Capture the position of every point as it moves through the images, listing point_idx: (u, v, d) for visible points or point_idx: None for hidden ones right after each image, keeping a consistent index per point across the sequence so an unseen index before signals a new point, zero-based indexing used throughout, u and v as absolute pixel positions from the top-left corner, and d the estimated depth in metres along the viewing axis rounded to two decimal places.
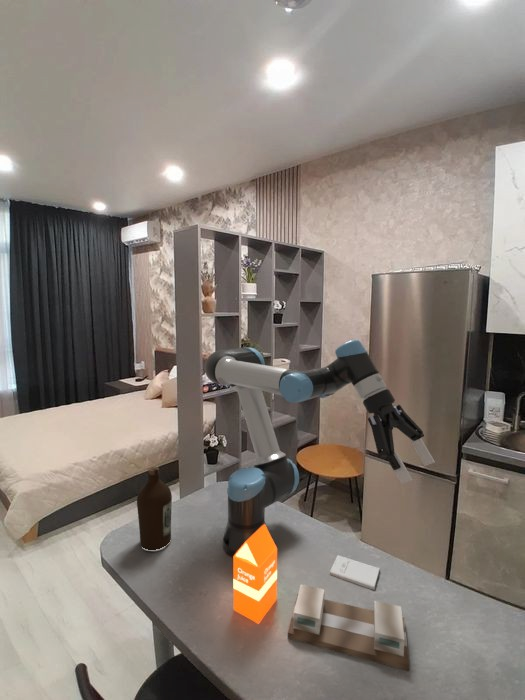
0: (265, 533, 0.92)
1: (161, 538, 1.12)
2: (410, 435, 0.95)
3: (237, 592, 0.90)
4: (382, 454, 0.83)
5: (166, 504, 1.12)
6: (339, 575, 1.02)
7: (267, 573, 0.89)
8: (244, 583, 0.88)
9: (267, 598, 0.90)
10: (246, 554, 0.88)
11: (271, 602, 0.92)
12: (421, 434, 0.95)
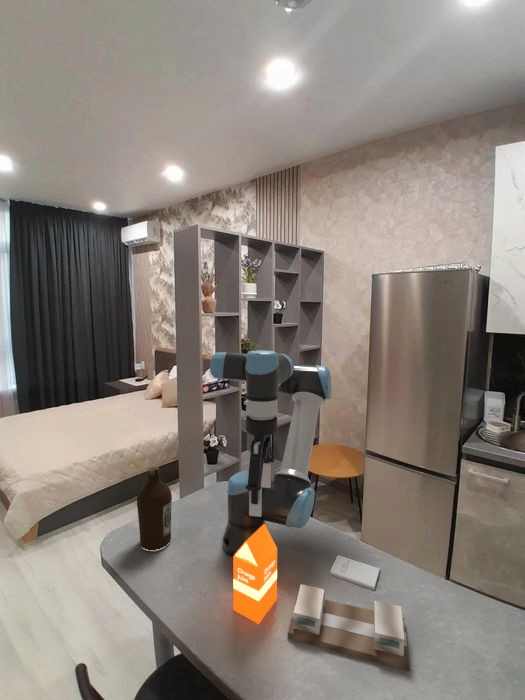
0: (265, 533, 0.92)
1: (161, 538, 1.12)
2: None
3: (237, 592, 0.90)
4: None
5: (166, 504, 1.12)
6: (339, 575, 1.02)
7: (267, 573, 0.89)
8: (244, 583, 0.88)
9: (267, 598, 0.90)
10: (246, 554, 0.88)
11: (271, 602, 0.92)
12: (247, 486, 0.81)
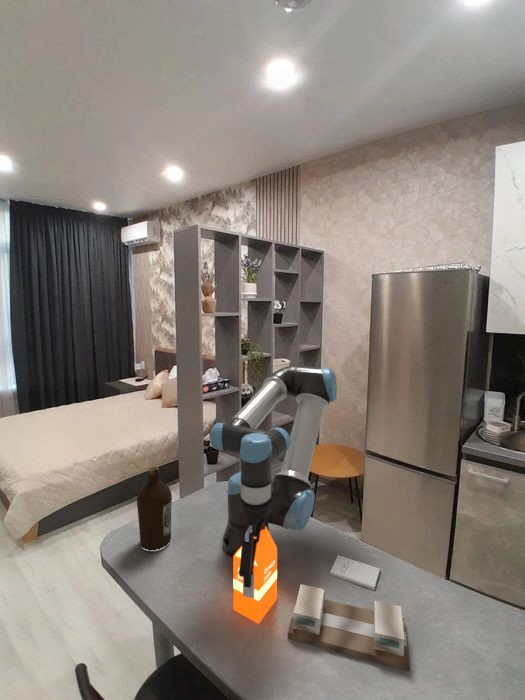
0: (265, 533, 0.92)
1: (161, 538, 1.12)
2: None
3: (237, 592, 0.90)
4: None
5: (166, 504, 1.12)
6: (339, 575, 1.02)
7: (267, 573, 0.89)
8: None
9: (267, 598, 0.90)
10: None
11: (271, 602, 0.92)
12: None
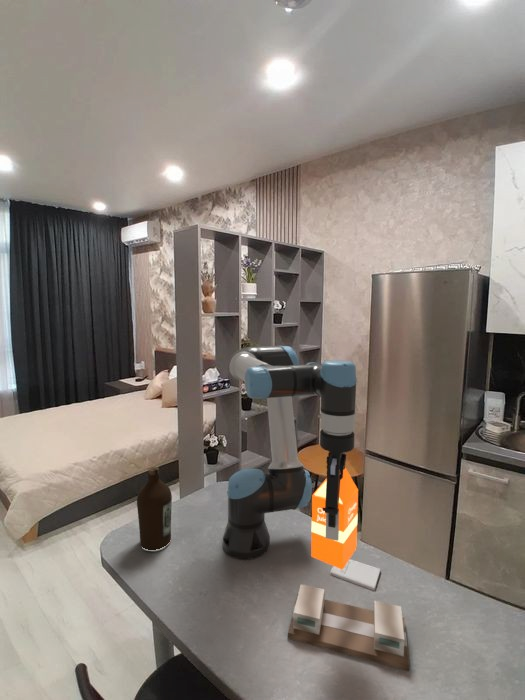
0: (345, 473, 0.84)
1: (161, 538, 1.12)
2: None
3: (316, 536, 0.81)
4: None
5: (166, 504, 1.12)
6: (339, 575, 1.02)
7: (350, 514, 0.80)
8: (325, 524, 0.79)
9: (349, 543, 0.81)
10: None
11: (352, 550, 0.83)
12: None
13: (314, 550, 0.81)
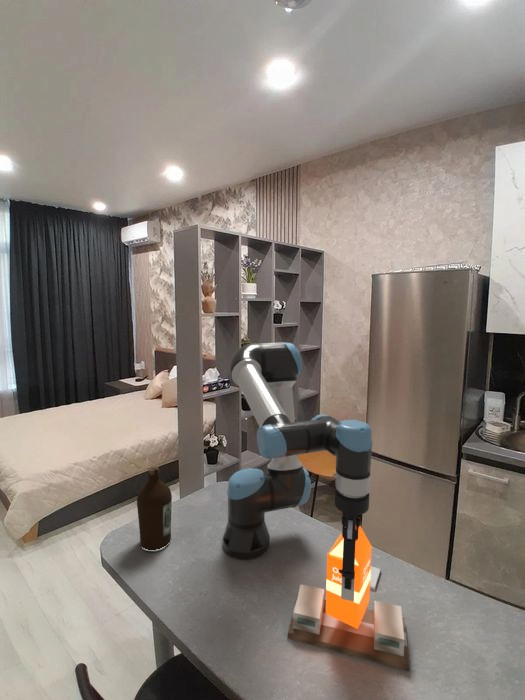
0: (358, 529, 0.84)
1: (161, 538, 1.12)
2: None
3: (331, 594, 0.82)
4: None
5: (166, 504, 1.12)
6: None
7: (365, 573, 0.81)
8: (340, 584, 0.80)
9: (363, 601, 0.82)
10: None
11: (366, 605, 0.84)
12: (340, 570, 0.77)
13: (329, 607, 0.82)
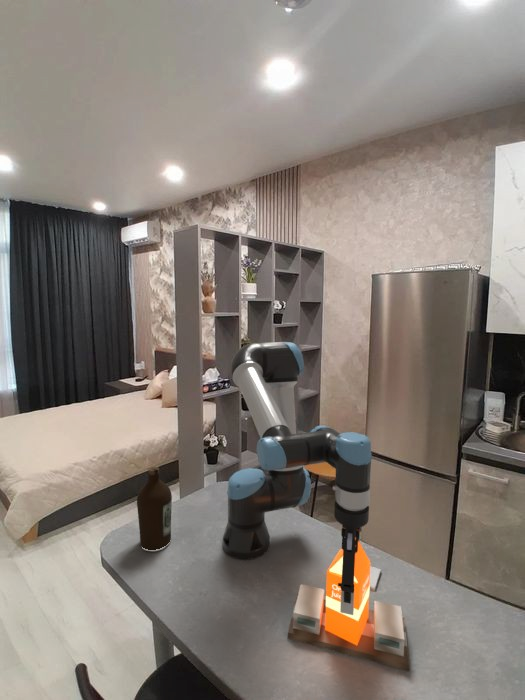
0: (358, 546, 0.85)
1: (161, 538, 1.12)
2: None
3: (330, 611, 0.82)
4: None
5: (166, 504, 1.12)
6: None
7: (364, 590, 0.82)
8: (340, 600, 0.81)
9: (362, 617, 0.83)
10: None
11: (365, 621, 0.85)
12: (339, 583, 0.76)
13: (328, 624, 0.83)
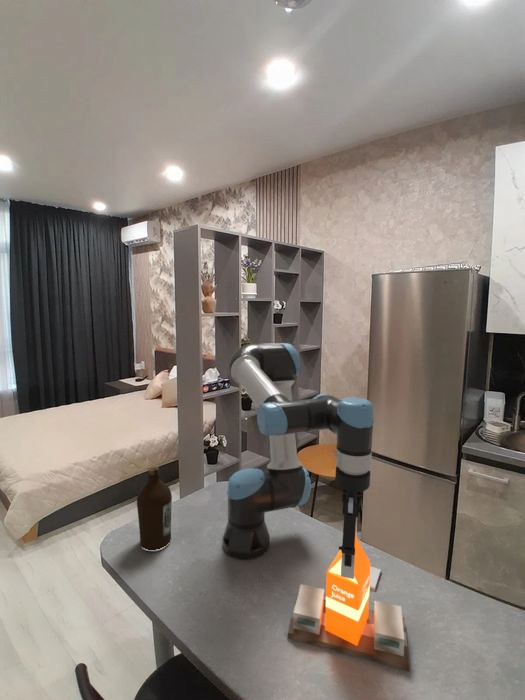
0: (358, 546, 0.85)
1: (161, 538, 1.12)
2: None
3: (330, 611, 0.82)
4: None
5: (166, 504, 1.12)
6: None
7: (364, 590, 0.82)
8: (340, 601, 0.81)
9: (362, 617, 0.83)
10: None
11: (365, 621, 0.85)
12: None
13: (328, 624, 0.83)
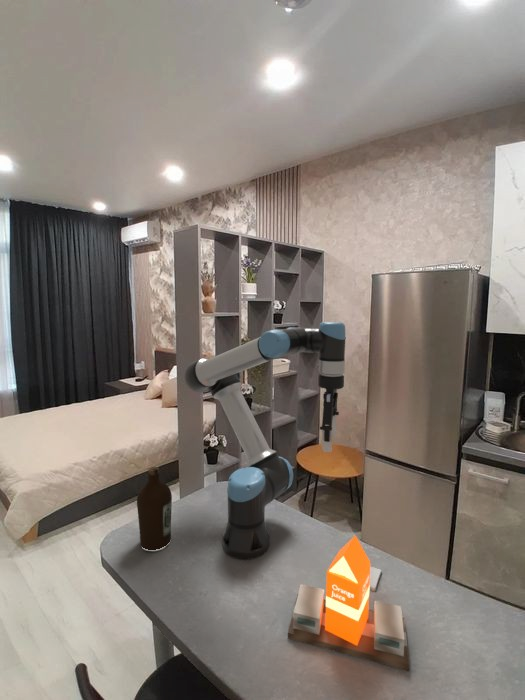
0: (358, 546, 0.85)
1: (161, 538, 1.12)
2: None
3: (330, 611, 0.82)
4: None
5: (166, 504, 1.12)
6: None
7: (364, 590, 0.82)
8: (340, 601, 0.81)
9: (362, 617, 0.83)
10: (342, 569, 0.81)
11: (365, 621, 0.85)
12: None
13: (328, 624, 0.83)
